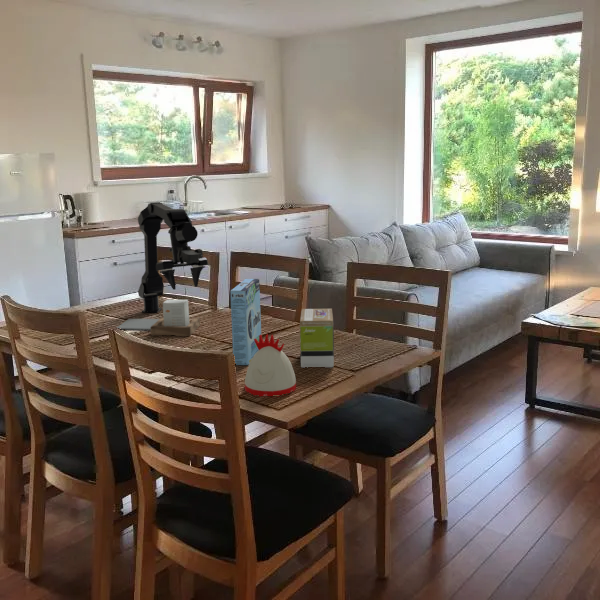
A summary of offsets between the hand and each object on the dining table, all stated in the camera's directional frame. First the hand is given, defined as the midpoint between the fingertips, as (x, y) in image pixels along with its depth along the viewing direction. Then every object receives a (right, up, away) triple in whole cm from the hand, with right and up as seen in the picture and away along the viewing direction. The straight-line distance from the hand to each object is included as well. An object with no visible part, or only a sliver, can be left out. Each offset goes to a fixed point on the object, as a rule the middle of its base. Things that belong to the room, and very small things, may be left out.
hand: (185, 288), depth 238 cm
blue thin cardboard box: (+25, -22, -29) cm, 44 cm away
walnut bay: (-4, -15, +2) cm, 16 cm away
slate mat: (-18, -14, +10) cm, 24 cm away
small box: (-4, -15, +3) cm, 16 cm away
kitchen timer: (+33, -28, -57) cm, 71 cm away
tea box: (+46, -23, -34) cm, 62 cm away
